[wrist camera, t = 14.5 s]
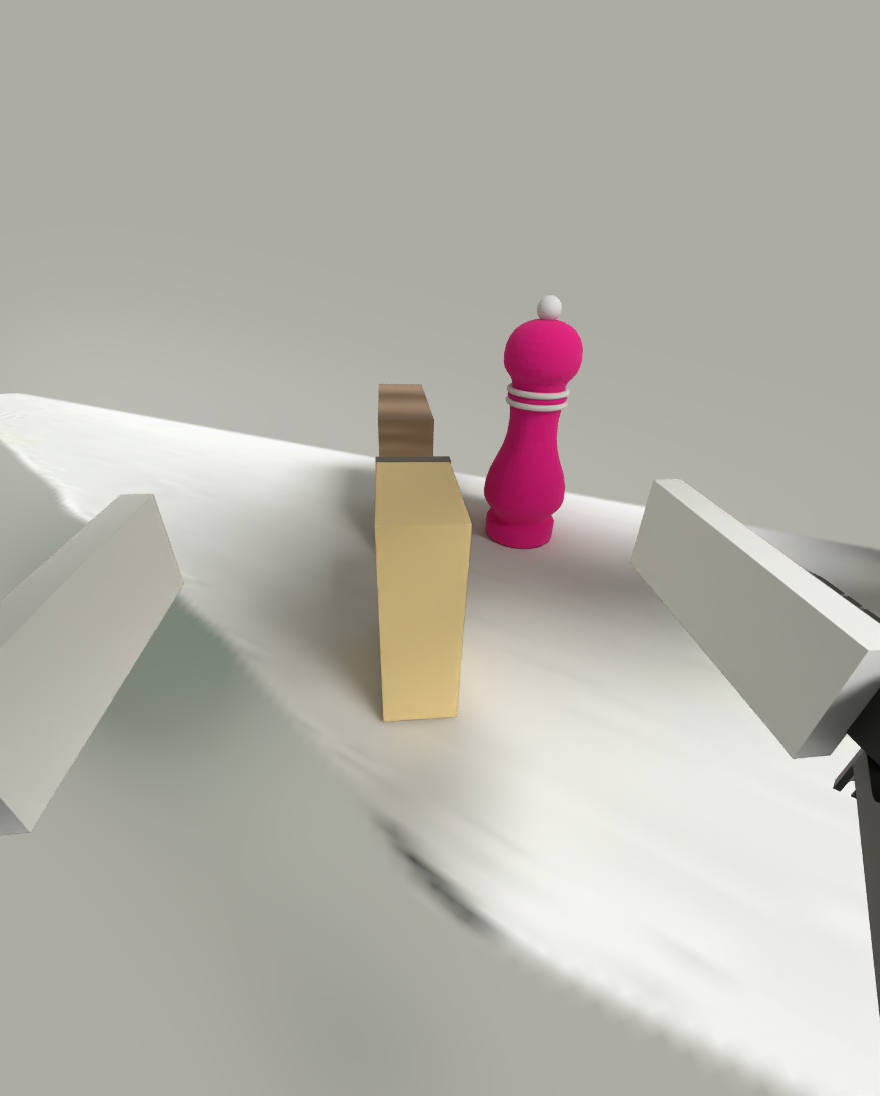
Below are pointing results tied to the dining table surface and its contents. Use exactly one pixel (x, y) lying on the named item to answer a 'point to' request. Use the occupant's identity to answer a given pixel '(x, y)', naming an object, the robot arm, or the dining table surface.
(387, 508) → the stub
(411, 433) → the block
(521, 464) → the pepper mill
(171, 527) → the dining table surface
